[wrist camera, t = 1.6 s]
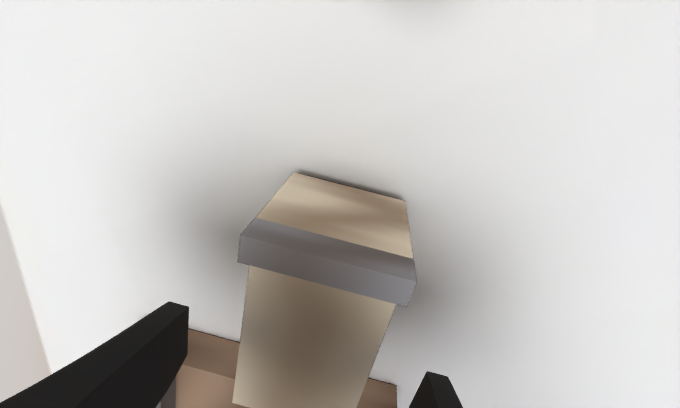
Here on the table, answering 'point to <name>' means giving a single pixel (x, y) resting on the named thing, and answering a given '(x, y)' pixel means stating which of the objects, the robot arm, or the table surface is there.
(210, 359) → the dock
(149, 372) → the robot arm
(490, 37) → the table surface
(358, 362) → the beige lidded box
